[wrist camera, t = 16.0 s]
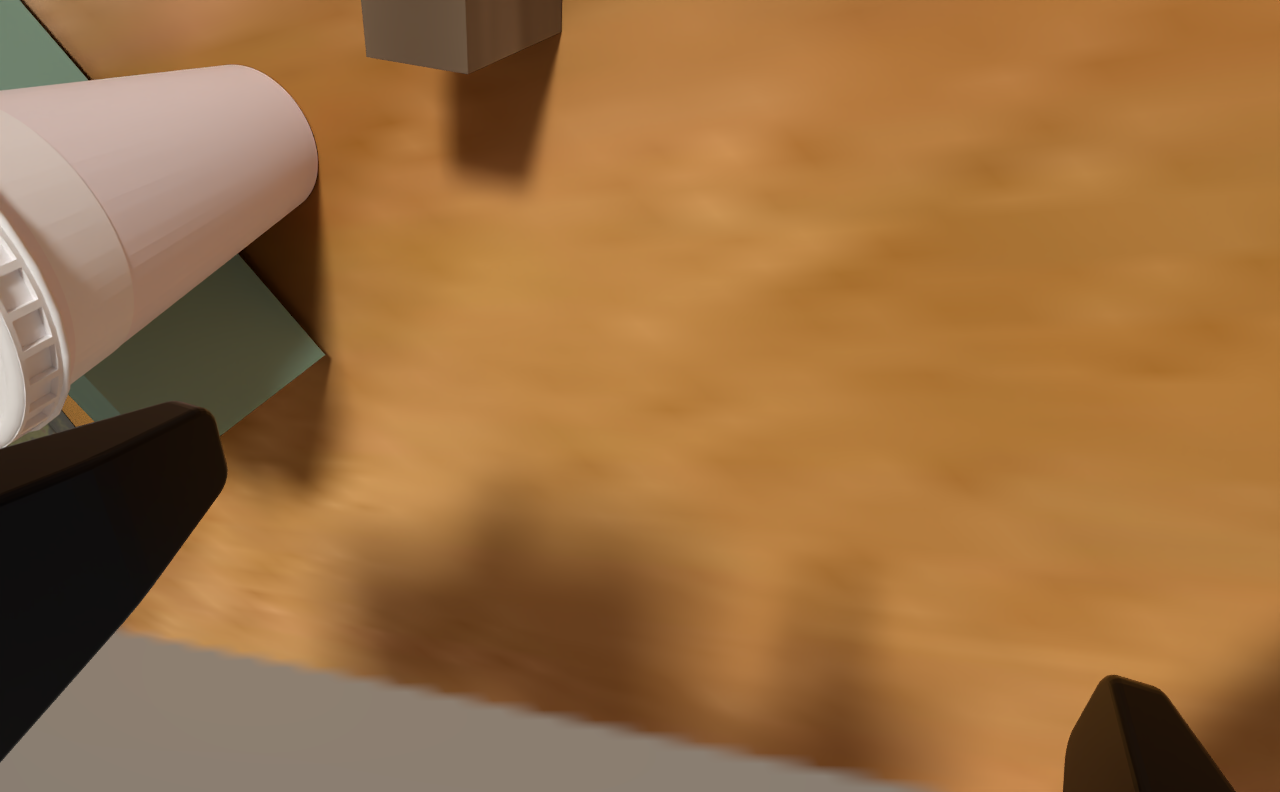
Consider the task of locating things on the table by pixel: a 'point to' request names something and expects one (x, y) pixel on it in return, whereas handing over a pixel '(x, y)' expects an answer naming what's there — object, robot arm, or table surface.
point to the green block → (194, 325)
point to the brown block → (456, 30)
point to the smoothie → (128, 211)
